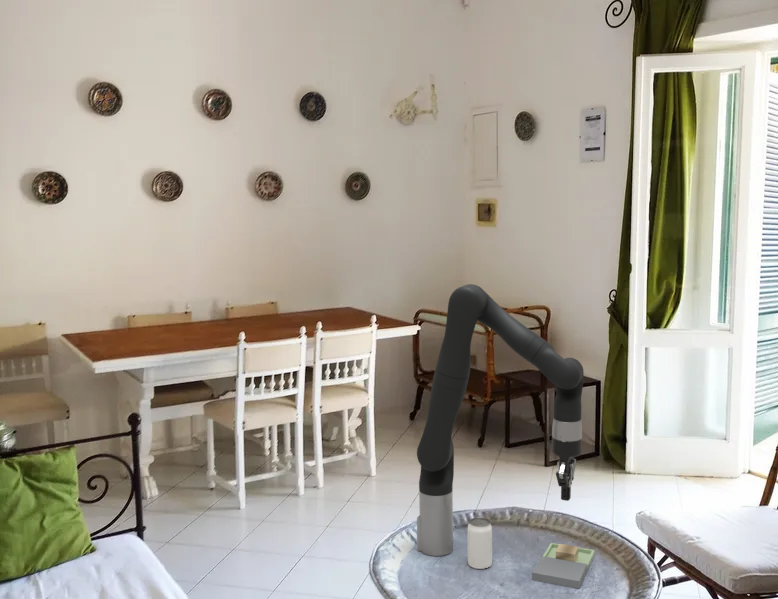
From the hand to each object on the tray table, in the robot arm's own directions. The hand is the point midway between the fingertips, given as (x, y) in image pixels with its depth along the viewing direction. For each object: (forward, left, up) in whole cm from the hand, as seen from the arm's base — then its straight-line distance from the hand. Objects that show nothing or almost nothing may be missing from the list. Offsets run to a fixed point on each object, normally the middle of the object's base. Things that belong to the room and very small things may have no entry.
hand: (565, 499), depth 214 cm
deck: (0, -6, -18) cm, 19 cm away
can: (-21, -8, -19) cm, 29 cm away
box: (0, +4, -18) cm, 19 cm away
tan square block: (0, +3, -18) cm, 18 cm away
